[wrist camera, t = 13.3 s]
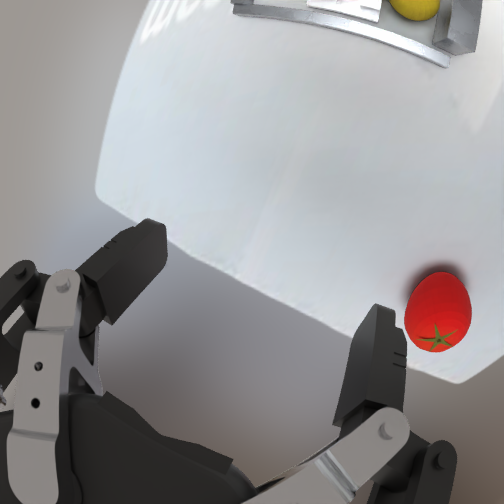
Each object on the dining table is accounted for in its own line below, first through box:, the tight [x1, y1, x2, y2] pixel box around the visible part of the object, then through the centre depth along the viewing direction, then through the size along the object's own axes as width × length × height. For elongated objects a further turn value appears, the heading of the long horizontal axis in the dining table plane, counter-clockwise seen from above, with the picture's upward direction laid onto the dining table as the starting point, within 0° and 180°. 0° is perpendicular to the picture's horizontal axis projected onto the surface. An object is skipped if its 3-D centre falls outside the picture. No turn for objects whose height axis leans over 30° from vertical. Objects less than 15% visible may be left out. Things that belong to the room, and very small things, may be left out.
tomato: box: [404, 272, 472, 352], centre depth 34 cm, size 10×11×11 cm
